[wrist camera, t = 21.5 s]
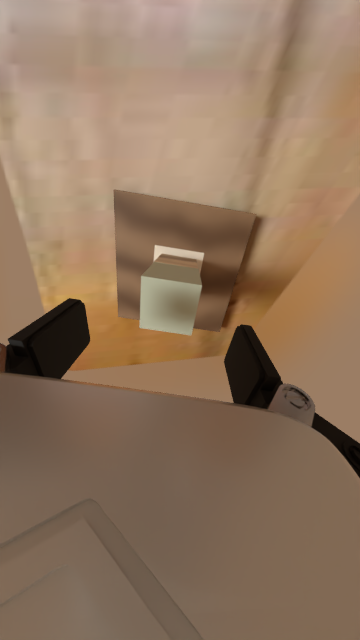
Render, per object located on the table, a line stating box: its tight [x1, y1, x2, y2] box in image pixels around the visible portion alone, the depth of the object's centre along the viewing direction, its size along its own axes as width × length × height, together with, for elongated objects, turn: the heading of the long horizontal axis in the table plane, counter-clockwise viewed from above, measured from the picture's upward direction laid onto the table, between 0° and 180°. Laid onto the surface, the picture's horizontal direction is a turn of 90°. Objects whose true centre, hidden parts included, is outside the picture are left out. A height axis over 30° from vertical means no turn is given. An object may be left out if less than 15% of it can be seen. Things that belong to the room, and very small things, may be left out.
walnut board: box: [114, 190, 256, 332], centre depth 26 cm, size 18×18×2 cm
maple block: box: [154, 254, 198, 269], centre depth 23 cm, size 5×5×6 cm
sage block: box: [140, 262, 202, 335], centre depth 18 cm, size 5×5×6 cm
